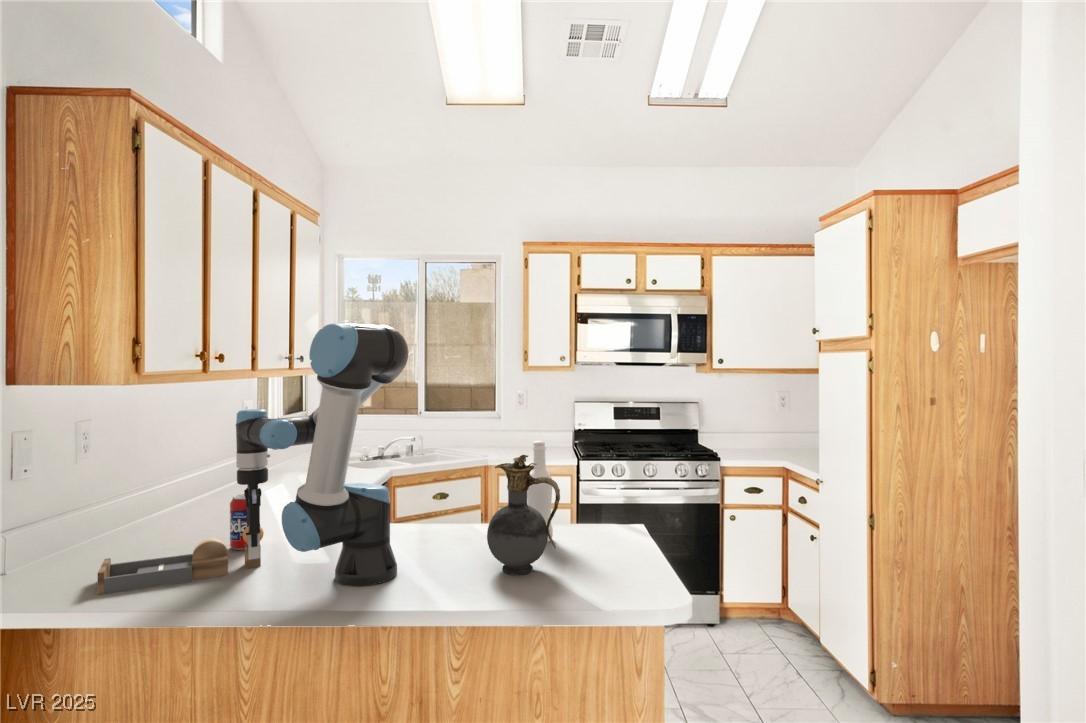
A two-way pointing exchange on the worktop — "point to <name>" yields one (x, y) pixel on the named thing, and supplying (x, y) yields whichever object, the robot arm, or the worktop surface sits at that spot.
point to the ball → (247, 535)
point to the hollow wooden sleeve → (251, 562)
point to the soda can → (238, 522)
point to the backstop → (103, 574)
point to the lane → (148, 573)
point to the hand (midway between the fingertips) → (253, 555)
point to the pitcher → (520, 521)
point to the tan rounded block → (209, 559)
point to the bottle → (540, 485)
